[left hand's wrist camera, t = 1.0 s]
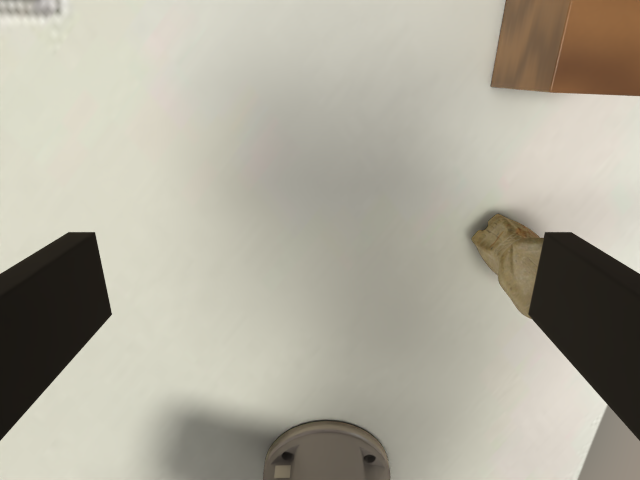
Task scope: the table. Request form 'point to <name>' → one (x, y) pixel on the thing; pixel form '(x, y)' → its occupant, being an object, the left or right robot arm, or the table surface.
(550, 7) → the box
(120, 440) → the table surface
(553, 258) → the left robot arm
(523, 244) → the sculpture
